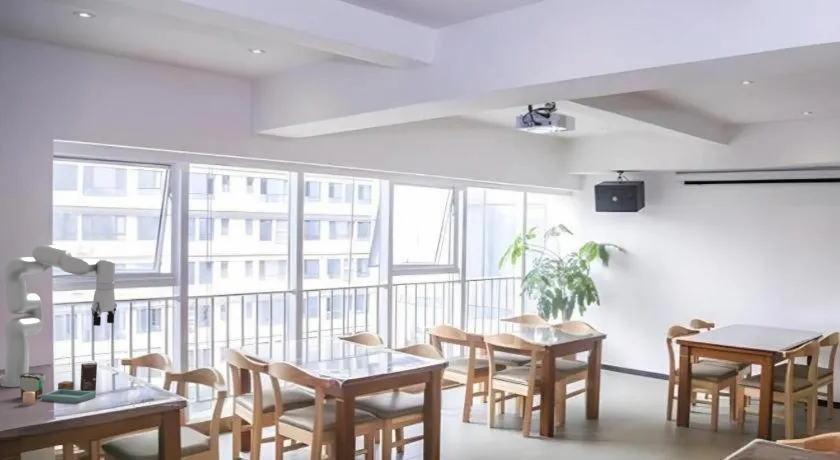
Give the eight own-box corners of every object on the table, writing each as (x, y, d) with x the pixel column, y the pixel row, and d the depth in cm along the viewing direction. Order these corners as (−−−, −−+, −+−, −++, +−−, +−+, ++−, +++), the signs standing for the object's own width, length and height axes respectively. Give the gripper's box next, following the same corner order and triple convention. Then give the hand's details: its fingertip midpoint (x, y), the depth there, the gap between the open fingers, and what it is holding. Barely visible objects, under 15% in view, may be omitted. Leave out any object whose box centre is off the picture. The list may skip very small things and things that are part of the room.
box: (82, 391, 312) (83, 365, 312) (80, 389, 316) (80, 363, 316) (96, 390, 316) (97, 364, 316) (94, 388, 319) (94, 362, 320)
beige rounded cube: (20, 405, 285) (20, 393, 285) (28, 402, 290) (28, 390, 290) (29, 405, 285) (29, 393, 285) (37, 403, 289) (37, 391, 289)
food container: (51, 396, 301) (52, 373, 301) (39, 399, 295) (40, 376, 295) (30, 393, 305) (31, 371, 305) (18, 396, 299) (19, 373, 299)
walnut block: (57, 393, 308) (58, 383, 309) (64, 390, 313) (64, 381, 313) (66, 393, 308) (67, 383, 308) (73, 391, 312) (73, 381, 312)
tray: (41, 400, 294) (42, 394, 294) (60, 394, 306) (60, 389, 306) (78, 403, 291) (78, 397, 291) (95, 397, 302) (95, 391, 302)
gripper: (109, 285, 323) (108, 321, 322) (85, 287, 306) (83, 326, 305) (123, 286, 321) (122, 322, 321) (100, 288, 304) (99, 327, 304)
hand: (103, 324), depth 313 cm, fingers open, 9 cm apart
